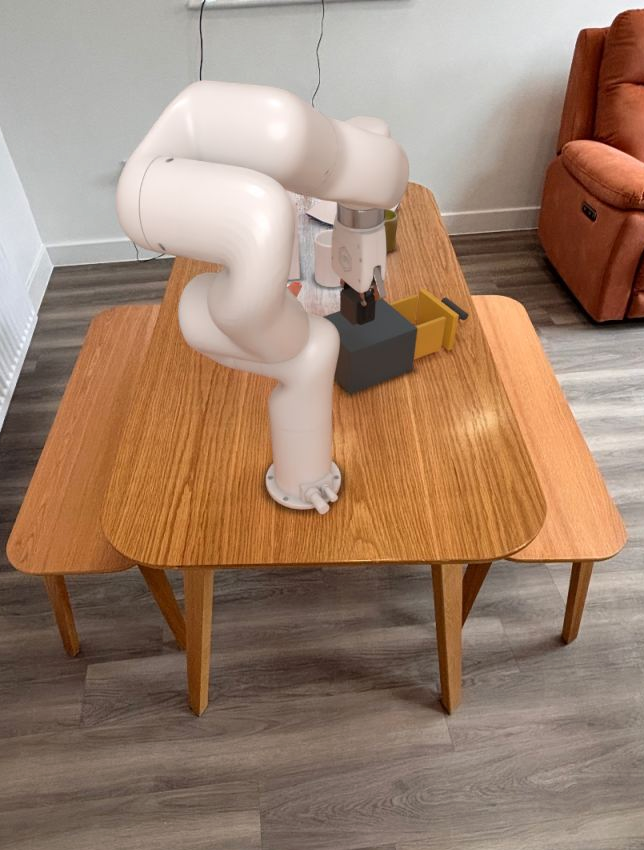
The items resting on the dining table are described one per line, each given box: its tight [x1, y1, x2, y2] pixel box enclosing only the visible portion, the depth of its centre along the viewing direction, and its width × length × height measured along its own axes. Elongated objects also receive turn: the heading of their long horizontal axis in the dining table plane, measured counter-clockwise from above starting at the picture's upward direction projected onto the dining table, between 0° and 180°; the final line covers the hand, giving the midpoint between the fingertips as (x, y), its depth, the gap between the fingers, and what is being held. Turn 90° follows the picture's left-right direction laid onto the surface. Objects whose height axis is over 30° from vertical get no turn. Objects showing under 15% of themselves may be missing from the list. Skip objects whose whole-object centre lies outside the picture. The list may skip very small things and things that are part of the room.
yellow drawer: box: [388, 287, 469, 361], centre depth 128 cm, size 18×11×8 cm, turn 119°
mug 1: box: [313, 228, 341, 288], centre depth 146 cm, size 8×12×10 cm
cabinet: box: [322, 298, 418, 395], centre depth 124 cm, size 15×13×10 cm
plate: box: [305, 200, 402, 228], centre depth 169 cm, size 20×20×3 cm
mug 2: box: [384, 209, 399, 254], centre depth 156 cm, size 12×10×10 cm
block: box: [339, 287, 371, 325], centre depth 110 cm, size 4×4×4 cm
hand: (357, 313), depth 112 cm, fingers closed on block, 4 cm apart
